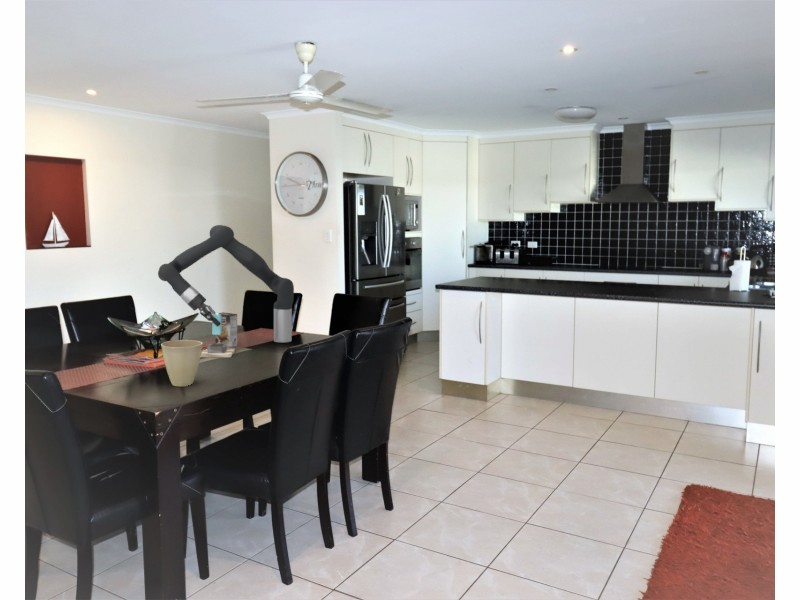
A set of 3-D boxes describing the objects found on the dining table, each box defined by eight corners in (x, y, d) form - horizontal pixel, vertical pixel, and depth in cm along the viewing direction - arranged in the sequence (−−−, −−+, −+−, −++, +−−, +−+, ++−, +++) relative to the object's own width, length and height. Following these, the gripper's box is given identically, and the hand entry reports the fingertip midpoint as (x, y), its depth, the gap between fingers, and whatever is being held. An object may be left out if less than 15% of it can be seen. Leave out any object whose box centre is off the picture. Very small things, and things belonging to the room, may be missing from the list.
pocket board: (205, 350, 297) (204, 342, 296) (234, 350, 299) (234, 342, 298) (199, 357, 283) (198, 348, 283) (230, 357, 285) (230, 348, 284)
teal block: (213, 333, 291) (213, 312, 290) (221, 333, 292) (221, 312, 290) (212, 334, 287) (212, 313, 286) (220, 334, 288) (219, 313, 286)
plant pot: (197, 389, 231) (197, 347, 229) (156, 389, 230) (155, 347, 228) (207, 379, 246) (206, 339, 244) (168, 378, 245) (167, 339, 243)
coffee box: (214, 345, 309) (214, 313, 307) (223, 343, 315) (222, 311, 313) (229, 347, 306) (229, 315, 304) (237, 345, 312) (237, 313, 310)
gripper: (195, 294, 279) (223, 321, 282) (202, 290, 293) (228, 316, 296) (183, 305, 279) (211, 332, 282) (190, 301, 293) (217, 327, 296)
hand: (220, 324), depth 289 cm, fingers closed on teal block, 4 cm apart
